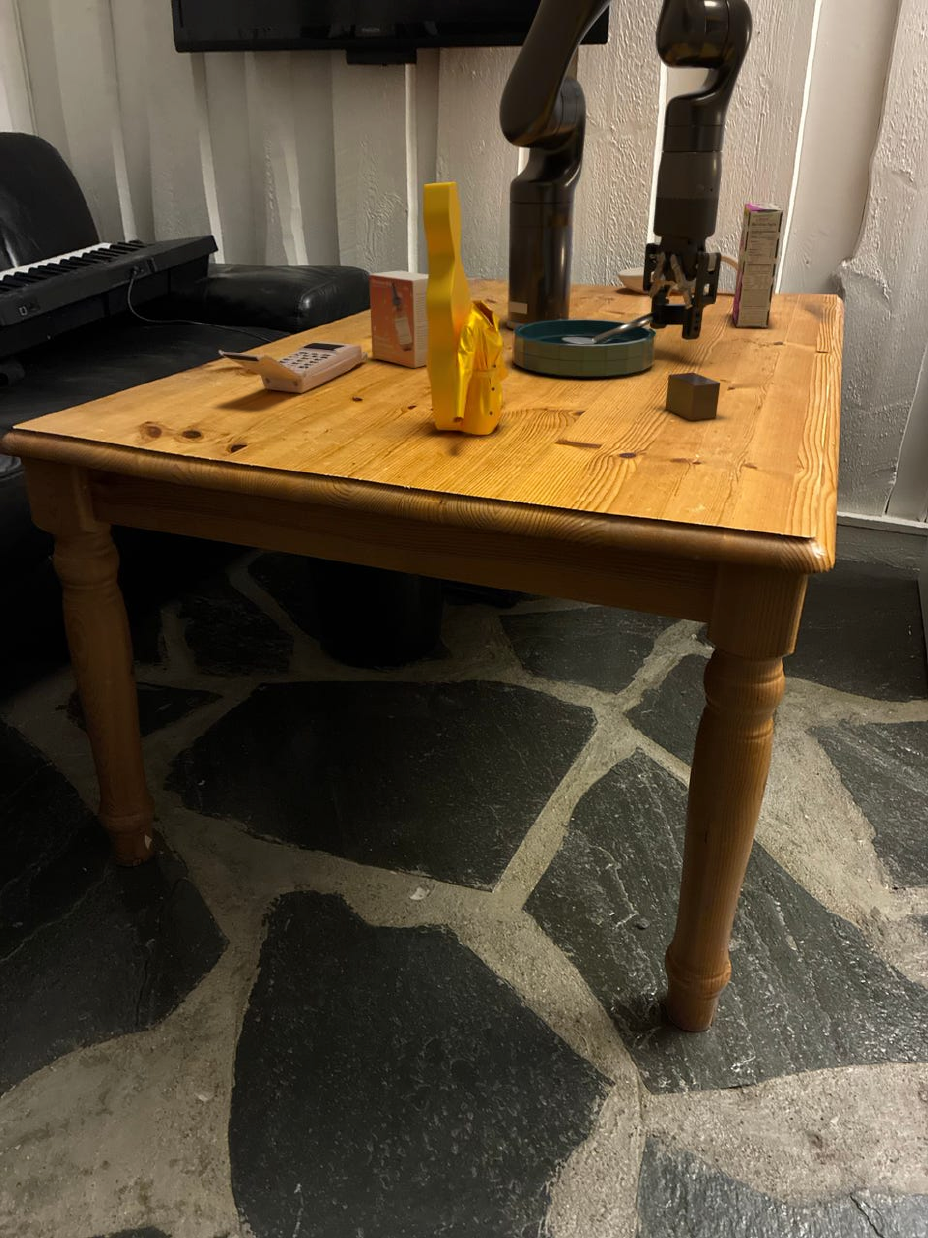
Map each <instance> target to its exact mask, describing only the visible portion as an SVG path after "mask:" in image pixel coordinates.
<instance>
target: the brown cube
mask: <svg viewBox="0 0 928 1238" xmlns="http://www.w3.org/2000/svg"><path fill="white" fill-rule="evenodd" d="M666 388H667V389H666V396H665V397H666V398H665V408H664V409H665V410H667V411H669V412H671V413H673V414H676V415H678V416H680V417H682V418H684V419H685V420H688V421H690V422H694V421H703V420H710V419H716V418H717V413H718V404H719V398H720V389H721V382H719V381H717V380H714V379H711V378H709V377H706V376H704V375H701V374H698V373H697V372H683V373H674V374H668V378H667V387H666Z"/></svg>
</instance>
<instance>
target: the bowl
mask: <svg viewBox="0 0 928 1238" xmlns="http://www.w3.org/2000/svg"><path fill="white" fill-rule="evenodd" d="M628 322H629V321H628ZM628 322H627V321H620V320H612V319H611V320H610V319H599V318H598V319H597V318H569V319H559V320H546V321H539V322H532V323H528V324H524V325H521V326H518V327H517V328H515V329H512V355H511V356H512V357H511V358H512V361H513V364H515V365H517V366H519V367H521V368H522V369H525V370H529V371H532V372H535V373H538V374H543V375H547V376H554V377H562V378H575V379H598V378H599V379H600V378H613V377H620V376H625V375H630V374H634V373H636V372H641V371H644V370H647V369H648V368H651V367H652V366H653V364H654V362H655V352H656V341H657V331H655V329H653V328H651V327H648V326H646V325H645V326H643V327H641V328H638V329H636V330H634V331H632V332H629V333H627V334H625V335H622V336H620V337H618V338H616V339H613V340H611V341H609V342H607V343H604V344H596V345H580V344H561V341H562V338H564V337H583V338H590V339H591V338H594V337H596V336H598V335H601V334H603V333H605V332H607V331H610V330H612V329H614V328H617V327H619V326H621V325H623V324H626V323H628Z"/></svg>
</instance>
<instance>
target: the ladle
mask: <svg viewBox="0 0 928 1238" xmlns="http://www.w3.org/2000/svg"><path fill="white" fill-rule="evenodd" d="M685 308H686V307H685V302H684V303H682V302H681V303H679V302H677V303H676V302H675V303H674V302H673V303H671V302H669V303H654V305H653V312H651V311H650V312H649V313H646V314H644V315H642V316H640V317H638V318H635V319H632V320H630V321H628V323H626V324H623V325H621V326H619V327H617V328H614V329H612V330H610V331H607V332H605V333H603V334H601V335H598V336H596V337H594V338H591V339H590V338H583V337H564V338H562V341H561V344H580V345H596V344H604V343H607V342H609V341H611V340H613V339H616V338H618V337H620V336H622V335H625V334H627V333H629V332H632V331H634V330H636V329H638V328H641V327H643V326H645V327H646V326H648V325H650V323H654V324H657V325H667V326H683V317H684V309H685Z"/></svg>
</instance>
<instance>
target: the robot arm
mask: <svg viewBox="0 0 928 1238" xmlns="http://www.w3.org/2000/svg"><path fill="white" fill-rule="evenodd" d="M612 2H613V0H540V3H539V6H538V9H537V12H536V14H535V17H534V19H533V22H532V23H531V26H530V28H529V31H528V33H527V36H526V38H525V40H524V42H523V44H522V46H521V49H520V51H519V53H518V56H517V57H516V59H515V62H514V64H513V67H512V69H511V70H510V72H509V75H508V78H507V80H506V82H505V85H504V88H503V90H502V94H501V98H500V103H499V109H498V111H499V114H498V118H499V119H498V120H499V126H500V130H501V133H502V135H503V137H504V138H505V140H506V141H507V142H508V143H509V144H510V145H512V146H514V147H517V148H521V149H529V150H528V160H527V163H526V165H525V167H524V169H523V170H522V171H521V172H520V173H519V174H518V175H517V176H516V177H514V178H513V179H512V181H510V185H509V206H508V207H509V210H508V211H509V213H508V216H509V217H508V218H509V219H508V276H507V277H508V279H507V282H508V285H507V318H506V326H507V328H509V329H512V330H514V329H515V328H517V327H518V326H521V325H524V324H528V323H532V322H539V321H546V320H559V319H570V301H571V285H572V284H571V282H572V264H573V263H572V261H573V260H572V259H573V241H574V237H573V236H574V219H575V218H574V217H575V196H576V195H575V194H576V190H577V187H578V184H579V182H580V179H581V177H582V169H583V159H584V149H585V141H586V140H585V139H586V129H587V128H586V127H587V102H586V96H585V93H584V89H583V87H582V84H581V83H580V81H579V80H578V79H577V77H575V76H574V75H572V74H570V73H568V70H569V68H570V65H571V64H572V63H571V62H572V60H573V58H574V55H576V54H575V53H576V51H577V49H578V47H579V46H580V44H581V42H582V40H584V37H585V36H586V34H587V33H588V32H589V30H590V29H591V27H592V26H593V25H594V24H595V22H596V21H597V20H598V19H599V18H600V16H601V15H602V14H603V13H604V12H605V10H606V9H607V8H608V7H609V5H610V4H611V3H612ZM753 29H754V20H753V14H752V10H751V8H750V5H749V4H748V2H747V1H746V0H663V1H662V4H661V8H660V12H659V17H658V20H657V24H656V29H655V37H654V39H655V48H656V53H657V56H658V57H659V59H660V61H661V62H662V64H663V65H664V66H666V67H667V68H669V69H674V70H707V74H706V76H705V79H704V80H703V82H702V84H701V85H700V86H699V88H698V89H696V90H693V91H690V92H685V93H681V94H678V95H674V96H673V97H671V98H670V99H669V100H668V102H667V104H666V106H665V111H664V112H665V113H664V122H663V135H662V147H661V151H662V152H661V155H660V161H659V166H658V170H657V179H656V191H655V202H654V215H653V225H652V232H653V234H654V235H655V236H656V237H660V242H659V241H658V242H657V241H656V242H647V243H646V244H645V249H644V262H643V267H644V273H643V291H648V292H649V294H648V297H649V298H650V299H651V305H650V313H651V312H653V305H654V303H670V299H669V298H668V297H669V296H670V294H671V292H672V290H673V288H674V287H675V286H677V291H678V292H679V293H681V294H682V297H683V302H684V304H685V307H686V308H685V309H684V317H683V325H681V326H682V328H681V338H682V339H683V340H687V341H689V340H690V341H691V340H697V339H699V338H700V335H701V330H702V322H703V313H704V309H705V308H706V307H707V306H710V305H715V304H716V302H717V296H718V288H719V282H720V281H719V280H720V273H721V266H722V261H721V258H722V255H721V253H720V252H721V251H718V252H712V251H707V247H706V246H707V245H706V244H707V243H706V241H707V239H708V238H710V237H713V236H714V235H715V234H716V229H717V227H716V226H717V220H718V211H719V202H720V191H721V184H722V176H723V152H722V151H723V150H724V149H723V148H724V139H725V131H726V122H727V113H728V111H729V106H730V103H731V100H732V97H733V94H734V91H735V87H736V86H737V85H736V84H737V82H738V78H739V76H740V73H741V70H742V68H743V65H744V62H745V59H746V56H747V54H748V51H749V48H750V44H751V42H752V37H753ZM708 252H709V253H708ZM652 272H654V274H653V276H652V279H653V281H652V282H651V273H652ZM663 285H664V287H663ZM674 285H675V286H674ZM707 285H708V289H707V290H708V291H707V293H706V289H705V288H706V287H707ZM673 286H674V287H673ZM693 292H694V293H693ZM667 326H668V325H657V324H654V323H650V324H649V328H651V329H653V330H662V329H665V328H667Z"/></svg>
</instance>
